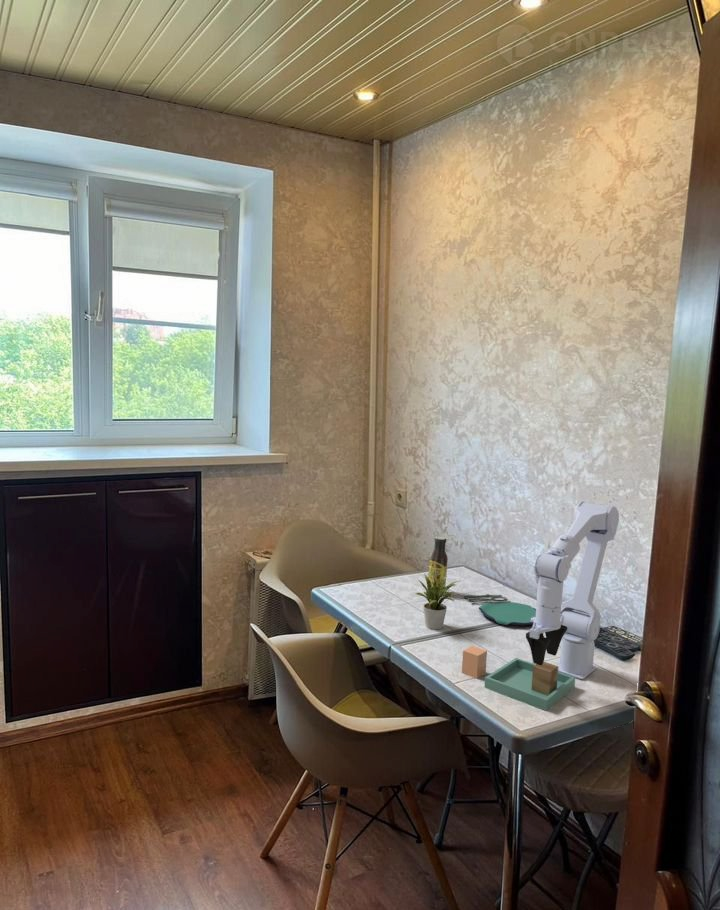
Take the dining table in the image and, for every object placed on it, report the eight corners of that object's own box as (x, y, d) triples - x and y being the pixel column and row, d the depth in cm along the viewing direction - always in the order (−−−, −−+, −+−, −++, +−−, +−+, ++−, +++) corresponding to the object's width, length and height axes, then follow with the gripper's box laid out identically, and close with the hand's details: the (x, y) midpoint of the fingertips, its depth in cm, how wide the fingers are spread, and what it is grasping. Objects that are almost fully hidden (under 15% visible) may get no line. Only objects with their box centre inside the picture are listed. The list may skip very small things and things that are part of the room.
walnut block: (539, 683, 162) (541, 660, 161) (556, 690, 159) (558, 666, 158) (531, 689, 159) (533, 666, 158) (548, 696, 156) (550, 672, 155)
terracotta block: (470, 667, 171) (472, 645, 170) (485, 673, 168) (487, 650, 168) (461, 673, 168) (463, 650, 167) (476, 678, 165) (478, 655, 164)
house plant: (457, 639, 189) (460, 584, 187) (409, 634, 191) (412, 580, 189) (460, 622, 203) (463, 570, 201) (415, 617, 205) (417, 566, 203)
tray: (515, 666, 172) (516, 657, 172) (574, 687, 162) (575, 677, 162) (484, 687, 160) (485, 677, 160) (546, 710, 150) (546, 700, 150)
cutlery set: (497, 631, 197) (498, 624, 196) (457, 599, 225) (457, 592, 225) (556, 627, 202) (557, 620, 202) (509, 596, 231) (509, 590, 230)
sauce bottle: (423, 592, 229) (426, 536, 227) (434, 588, 234) (437, 534, 231) (438, 597, 225) (441, 540, 222) (449, 593, 229) (452, 537, 226)
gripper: (546, 593, 164) (542, 645, 166) (519, 607, 153) (515, 663, 155) (573, 600, 160) (569, 653, 161) (547, 615, 149) (543, 672, 150)
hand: (544, 658), depth 158 cm, fingers open, 7 cm apart
